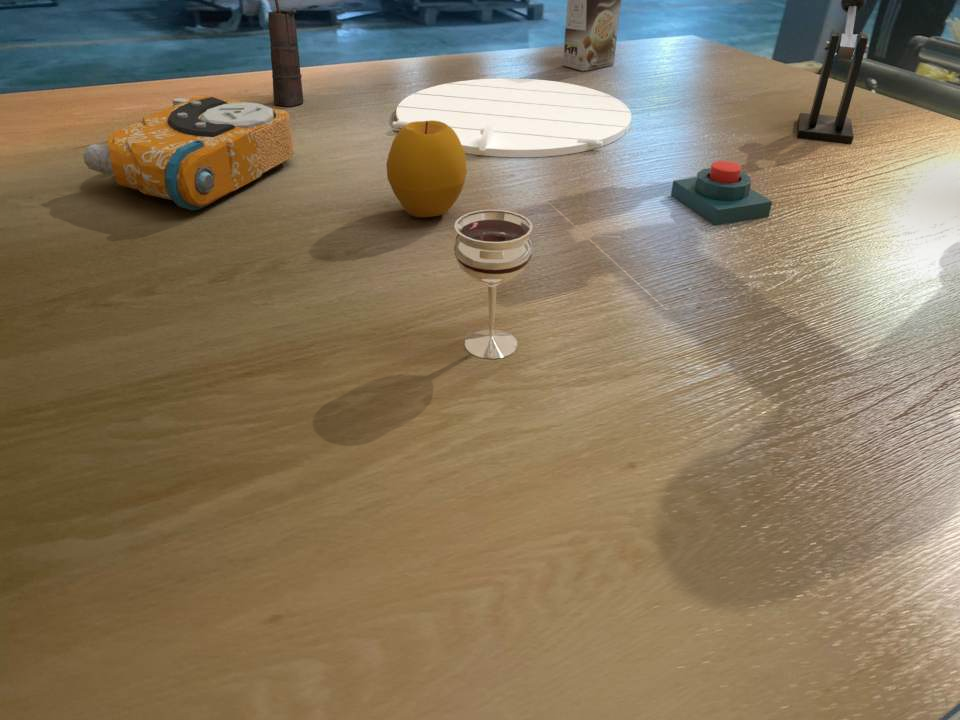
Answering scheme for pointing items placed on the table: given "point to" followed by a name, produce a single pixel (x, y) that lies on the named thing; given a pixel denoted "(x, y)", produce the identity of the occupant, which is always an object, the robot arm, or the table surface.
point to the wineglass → (492, 266)
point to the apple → (426, 168)
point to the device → (196, 149)
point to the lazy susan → (520, 116)
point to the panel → (721, 199)
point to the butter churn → (285, 58)
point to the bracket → (839, 125)
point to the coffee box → (591, 33)
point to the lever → (849, 29)
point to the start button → (725, 172)
